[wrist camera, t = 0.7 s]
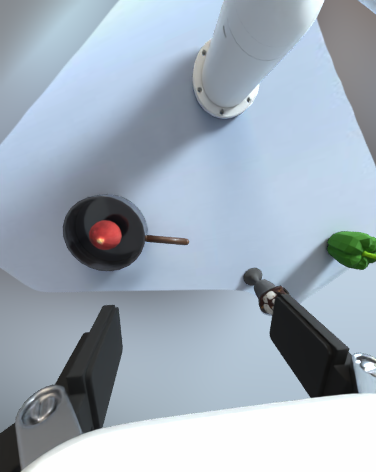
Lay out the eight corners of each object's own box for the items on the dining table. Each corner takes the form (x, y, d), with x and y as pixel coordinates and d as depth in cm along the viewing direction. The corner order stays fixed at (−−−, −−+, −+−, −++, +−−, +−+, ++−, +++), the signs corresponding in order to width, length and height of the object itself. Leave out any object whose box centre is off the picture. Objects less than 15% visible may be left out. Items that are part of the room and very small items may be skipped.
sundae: (245, 292, 49) (278, 338, 34) (236, 272, 47) (267, 312, 32) (268, 281, 48) (310, 323, 34) (260, 260, 46) (301, 296, 32)
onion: (98, 242, 41) (82, 257, 33) (95, 217, 39) (78, 226, 31) (126, 242, 41) (116, 257, 34) (124, 217, 40) (113, 226, 32)
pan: (72, 189, 37) (60, 191, 33) (149, 198, 39) (147, 201, 35) (75, 259, 41) (65, 268, 37) (144, 264, 43) (142, 273, 39)
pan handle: (143, 240, 39) (142, 242, 37) (144, 233, 38) (143, 235, 37) (188, 244, 40) (188, 246, 39) (189, 238, 39) (189, 240, 38)
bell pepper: (314, 251, 47) (351, 269, 38) (332, 222, 46) (376, 233, 36) (338, 262, 49) (379, 281, 40) (357, 234, 47) (405, 248, 38)
